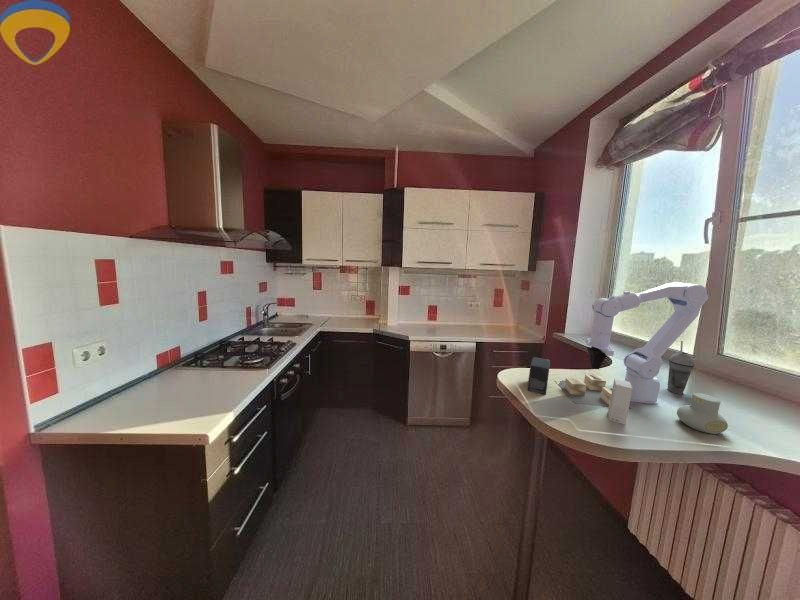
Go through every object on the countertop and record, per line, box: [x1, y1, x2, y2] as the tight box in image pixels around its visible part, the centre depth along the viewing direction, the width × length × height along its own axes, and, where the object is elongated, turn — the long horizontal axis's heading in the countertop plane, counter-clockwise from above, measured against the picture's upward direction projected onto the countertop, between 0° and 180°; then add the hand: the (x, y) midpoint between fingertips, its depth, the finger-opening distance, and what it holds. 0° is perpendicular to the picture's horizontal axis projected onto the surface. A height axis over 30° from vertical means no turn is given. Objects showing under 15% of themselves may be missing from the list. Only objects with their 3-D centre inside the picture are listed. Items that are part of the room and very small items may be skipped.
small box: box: [527, 356, 551, 396], centre depth 111 cm, size 11×6×10 cm, turn 152°
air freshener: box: [676, 392, 729, 435], centre depth 90 cm, size 11×8×10 cm
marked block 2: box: [600, 386, 613, 405], centre depth 103 cm, size 5×5×4 cm
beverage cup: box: [667, 340, 695, 395], centre depth 114 cm, size 7×7×20 cm
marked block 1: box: [583, 373, 607, 391], centre depth 114 cm, size 5×5×4 cm
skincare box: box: [607, 378, 633, 425], centre depth 92 cm, size 6×4×12 cm
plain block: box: [564, 377, 587, 395], centre depth 109 cm, size 5×5×4 cm
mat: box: [558, 379, 632, 410], centre depth 109 cm, size 18×19×1 cm
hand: (595, 368), depth 108 cm, fingers closed
